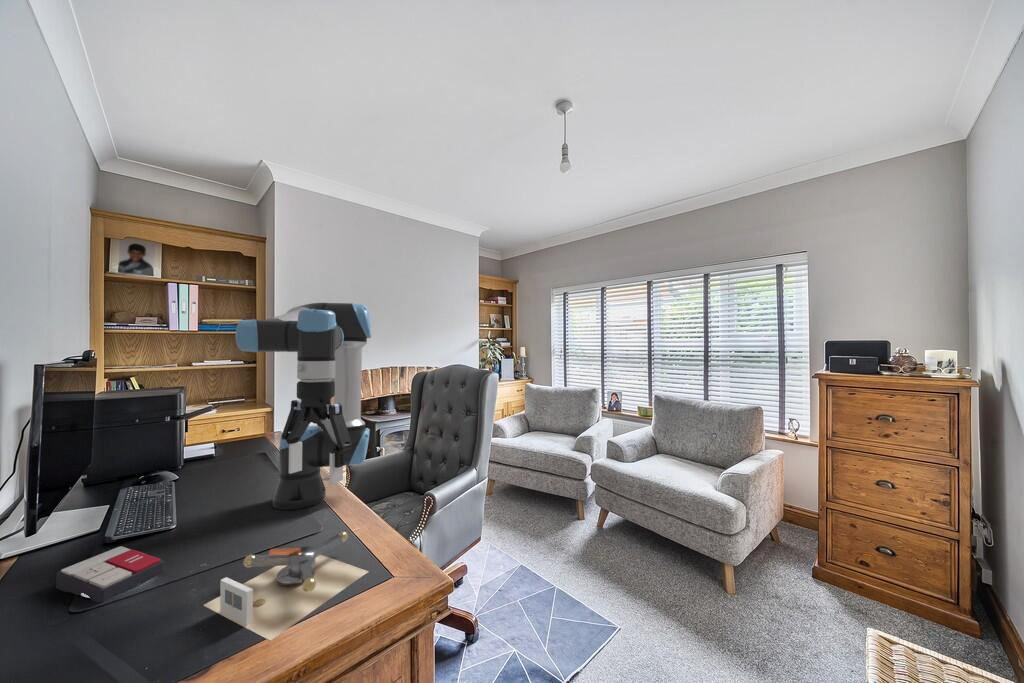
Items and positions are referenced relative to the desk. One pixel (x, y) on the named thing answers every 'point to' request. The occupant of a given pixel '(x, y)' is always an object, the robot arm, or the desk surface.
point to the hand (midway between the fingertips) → (314, 476)
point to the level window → (236, 601)
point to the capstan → (296, 562)
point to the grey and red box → (109, 573)
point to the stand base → (292, 596)
